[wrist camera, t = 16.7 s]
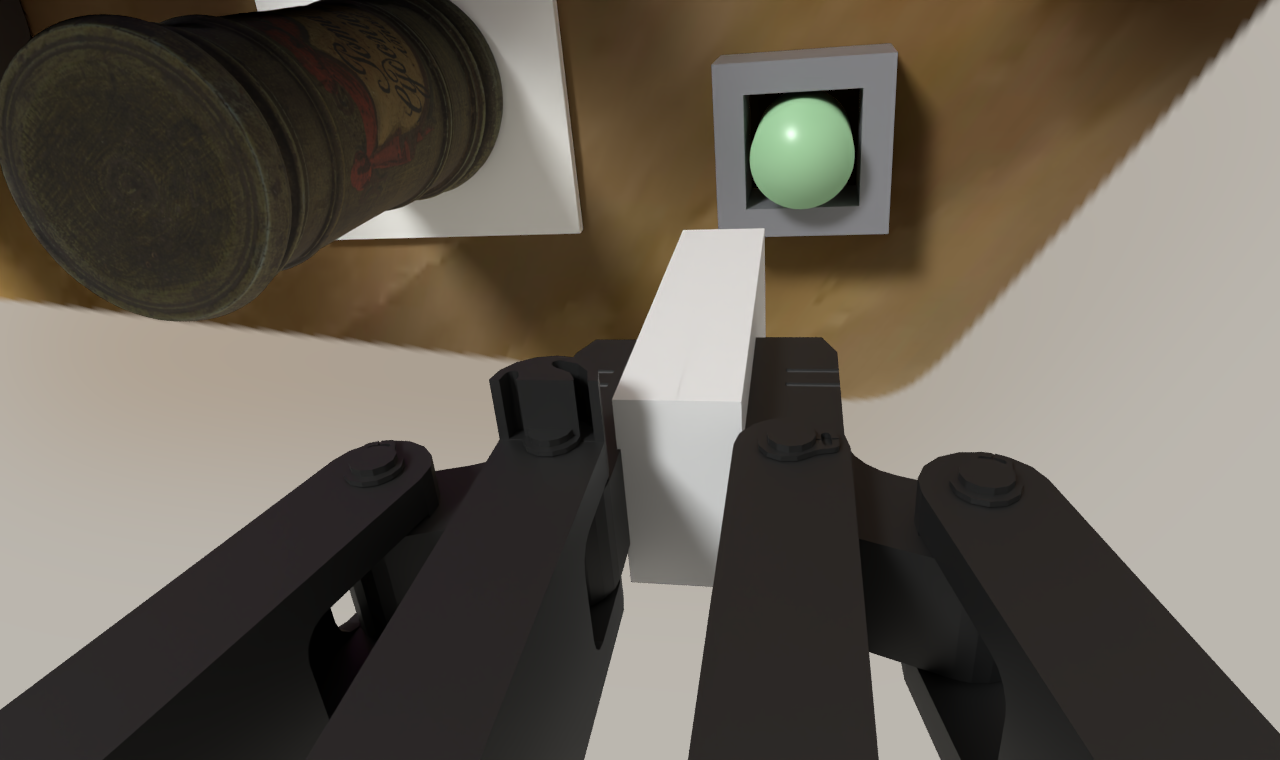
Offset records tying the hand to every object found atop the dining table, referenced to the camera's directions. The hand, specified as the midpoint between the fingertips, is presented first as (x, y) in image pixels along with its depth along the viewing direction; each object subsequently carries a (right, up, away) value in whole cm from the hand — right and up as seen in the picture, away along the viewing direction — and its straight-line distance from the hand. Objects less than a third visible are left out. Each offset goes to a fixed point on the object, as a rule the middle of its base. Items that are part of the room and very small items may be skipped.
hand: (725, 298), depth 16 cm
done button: (+6, +10, +21) cm, 24 cm away
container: (-12, +12, +23) cm, 28 cm away
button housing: (+6, +9, +21) cm, 23 cm away
